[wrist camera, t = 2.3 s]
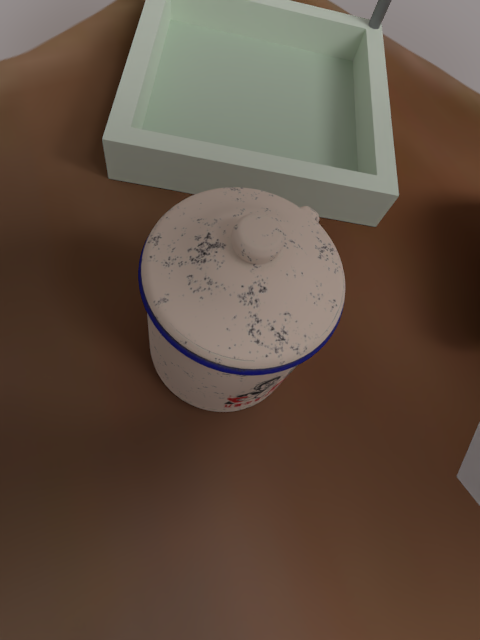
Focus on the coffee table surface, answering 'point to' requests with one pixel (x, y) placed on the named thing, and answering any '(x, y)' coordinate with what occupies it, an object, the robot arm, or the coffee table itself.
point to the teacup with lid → (237, 295)
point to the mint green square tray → (258, 105)
